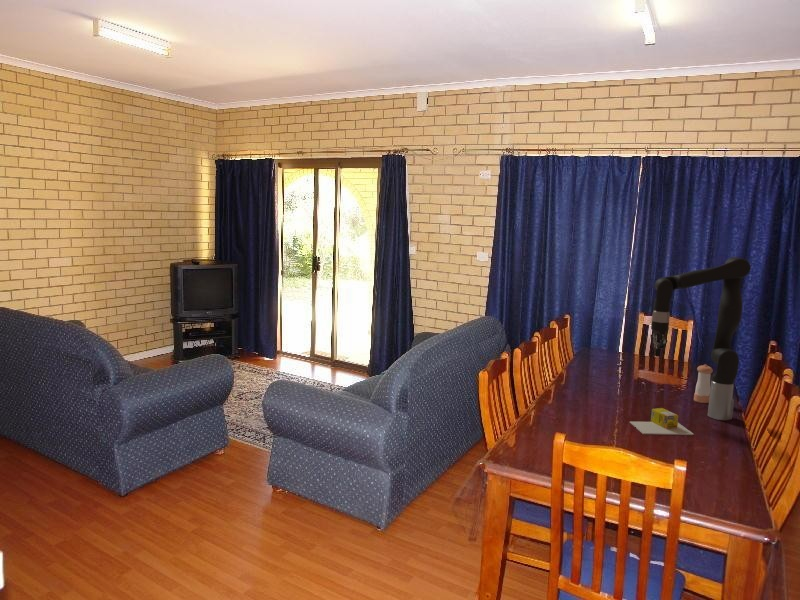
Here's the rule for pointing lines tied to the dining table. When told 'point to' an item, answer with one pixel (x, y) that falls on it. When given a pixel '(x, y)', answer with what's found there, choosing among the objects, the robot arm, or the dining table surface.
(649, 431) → the mat
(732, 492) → the dining table surface
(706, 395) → the salt shaker
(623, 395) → the dining table surface
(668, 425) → the supplement box
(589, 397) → the dining table surface
